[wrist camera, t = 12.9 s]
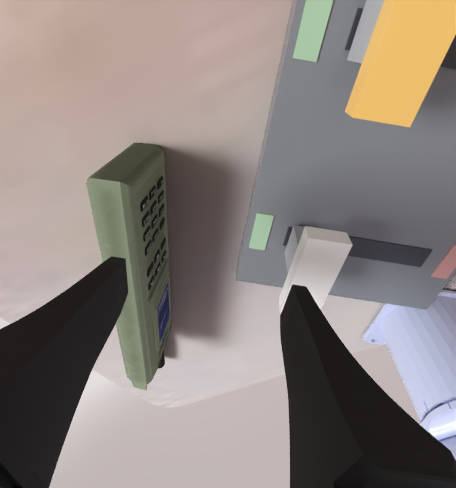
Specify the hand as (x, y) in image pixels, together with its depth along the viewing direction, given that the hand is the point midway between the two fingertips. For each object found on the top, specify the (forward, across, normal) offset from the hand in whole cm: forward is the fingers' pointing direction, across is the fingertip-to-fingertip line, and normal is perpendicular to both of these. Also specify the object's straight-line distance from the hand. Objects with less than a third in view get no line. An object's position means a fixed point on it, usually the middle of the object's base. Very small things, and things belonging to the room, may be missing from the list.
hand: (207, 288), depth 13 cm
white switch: (+8, -6, +2) cm, 10 cm away
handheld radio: (+11, +5, +10) cm, 16 cm away
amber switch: (+8, -6, -10) cm, 14 cm away
